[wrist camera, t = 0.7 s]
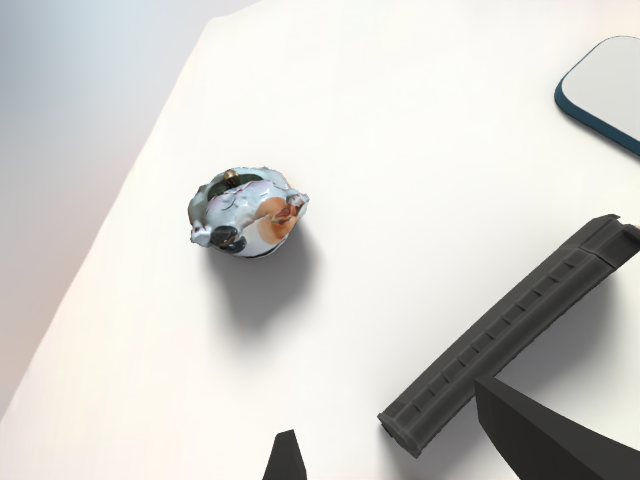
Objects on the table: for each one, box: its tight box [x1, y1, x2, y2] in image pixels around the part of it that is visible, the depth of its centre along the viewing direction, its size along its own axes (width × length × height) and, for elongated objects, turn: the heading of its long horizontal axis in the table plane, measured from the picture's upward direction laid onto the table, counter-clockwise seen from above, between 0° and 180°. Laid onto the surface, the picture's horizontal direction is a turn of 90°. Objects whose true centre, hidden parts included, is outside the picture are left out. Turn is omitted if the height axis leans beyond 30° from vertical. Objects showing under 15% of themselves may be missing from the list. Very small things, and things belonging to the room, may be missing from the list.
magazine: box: [377, 214, 640, 459], centre depth 28 cm, size 17×3×30 cm
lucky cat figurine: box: [188, 167, 309, 259], centre depth 37 cm, size 15×12×14 cm
